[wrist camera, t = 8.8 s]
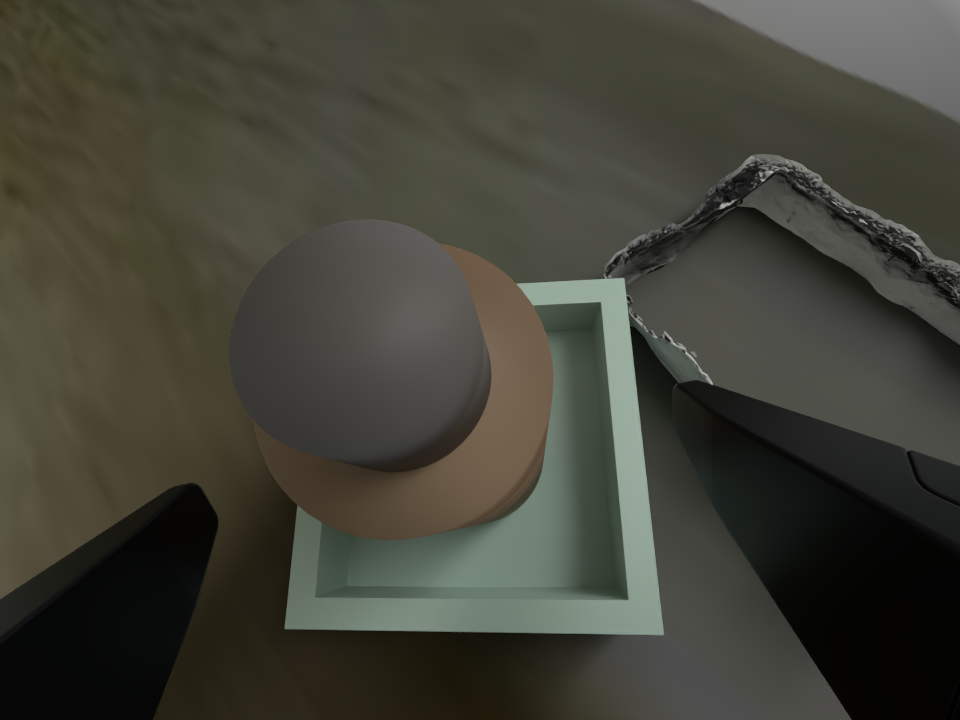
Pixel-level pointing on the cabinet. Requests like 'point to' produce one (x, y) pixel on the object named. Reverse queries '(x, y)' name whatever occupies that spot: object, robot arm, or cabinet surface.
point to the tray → (520, 515)
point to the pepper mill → (393, 381)
